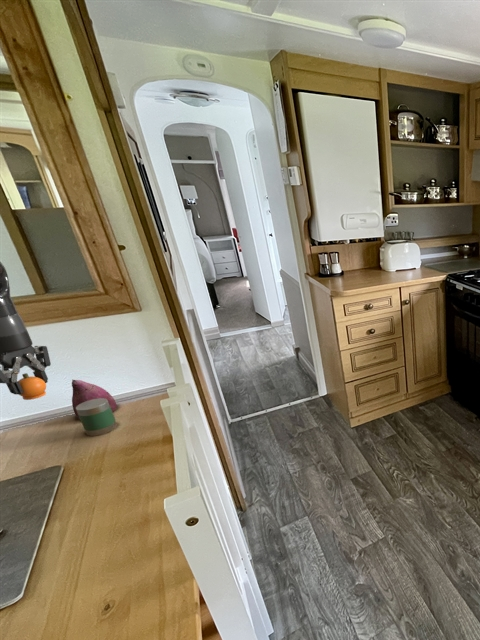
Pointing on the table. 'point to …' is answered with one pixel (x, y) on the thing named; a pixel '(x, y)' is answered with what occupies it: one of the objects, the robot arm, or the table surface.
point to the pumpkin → (32, 387)
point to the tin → (96, 416)
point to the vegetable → (89, 394)
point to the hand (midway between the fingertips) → (31, 388)
